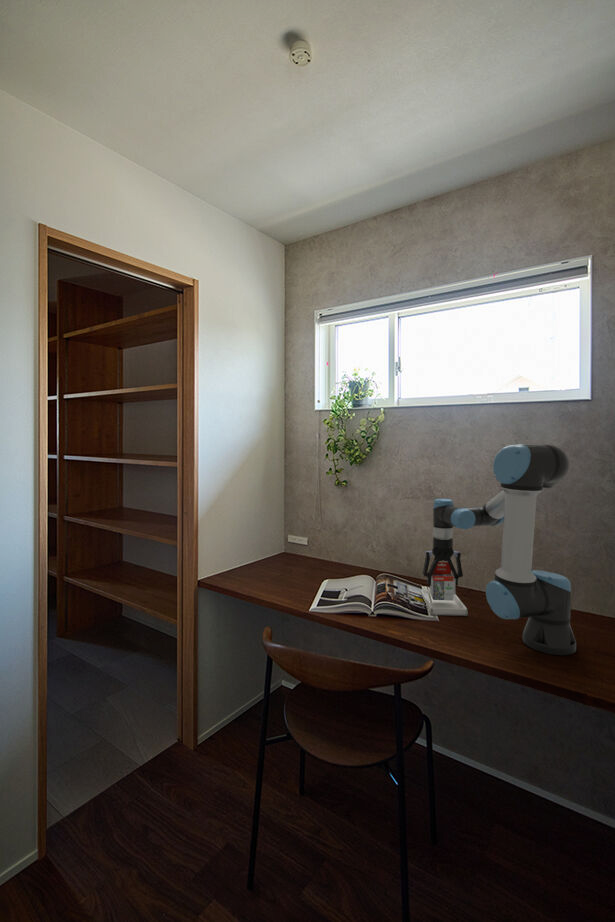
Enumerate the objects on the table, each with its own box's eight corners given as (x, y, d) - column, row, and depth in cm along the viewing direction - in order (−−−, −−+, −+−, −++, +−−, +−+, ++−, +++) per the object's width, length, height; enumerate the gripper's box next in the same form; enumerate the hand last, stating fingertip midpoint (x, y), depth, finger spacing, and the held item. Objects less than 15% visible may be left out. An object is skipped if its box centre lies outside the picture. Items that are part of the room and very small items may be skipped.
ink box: (453, 601, 172) (453, 564, 172) (433, 600, 173) (433, 564, 173) (451, 597, 176) (451, 562, 176) (431, 597, 177) (431, 561, 176)
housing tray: (467, 615, 164) (467, 609, 163) (430, 615, 165) (430, 608, 164) (452, 596, 185) (452, 590, 185) (420, 595, 186) (420, 589, 186)
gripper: (466, 535, 177) (466, 590, 178) (414, 535, 178) (414, 589, 179) (472, 539, 169) (471, 597, 170) (418, 539, 171) (417, 596, 172)
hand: (442, 593), depth 175 cm, fingers closed on ink box, 8 cm apart
